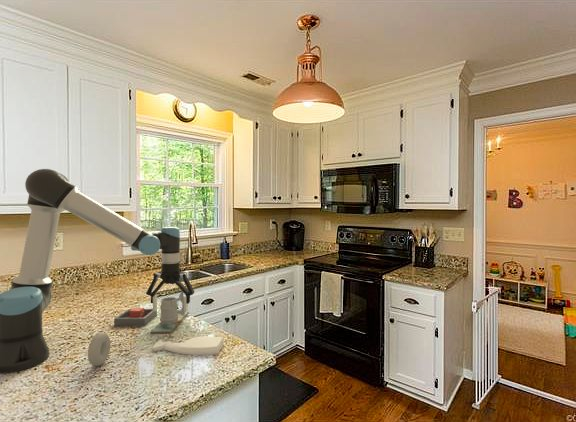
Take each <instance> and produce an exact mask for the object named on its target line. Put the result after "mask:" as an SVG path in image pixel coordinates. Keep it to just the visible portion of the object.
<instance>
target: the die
mask: <svg viewBox="0 0 576 422" xmlns="http://www.w3.org/2000/svg"><path fill="white" fill-rule="evenodd" d="M131 309H132V310H130V311H129V318H144V309H145V307H134V308H131Z"/></svg>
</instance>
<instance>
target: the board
mask: <svg viewBox="0 0 576 422" xmlns="http://www.w3.org/2000/svg"><path fill="white" fill-rule="evenodd" d="M189 314H190V312H189V311H186V312H185V314H184V316H182V315H181V314H178V321H177V322H176V323H173V324H161V321H160V322H159V323H158V324H157V325H155V327H154V328H152V329H151V331H149V333H150V334H173V332H174V331H175V330H176V329H177V327H178V326H179V325H180V324H181V323H182V322H183V321H184V320H185V319H186V317H187V316H188V315H189ZM183 319H184V320H183ZM182 320H183V321H182ZM175 328H176V329H175Z"/></svg>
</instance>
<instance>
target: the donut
mask: <svg viewBox="0 0 576 422" xmlns="http://www.w3.org/2000/svg"><path fill="white" fill-rule="evenodd" d="M110 351H111V338H110V336H109V335H108V334H107V333H106V332H100V333H96V334H95V335H94V336H93V338H92V339H91V341H90V342H89V346H88V350H87V359H88V362H89V364H90V365H91V366H93V367H99V366H102V365H103V364H104V363H105V362H106V361H107V359H108V357H109V354H110Z"/></svg>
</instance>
